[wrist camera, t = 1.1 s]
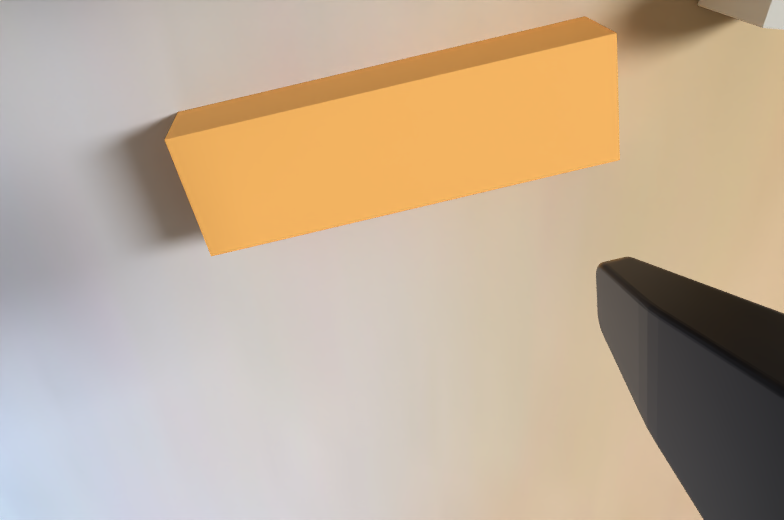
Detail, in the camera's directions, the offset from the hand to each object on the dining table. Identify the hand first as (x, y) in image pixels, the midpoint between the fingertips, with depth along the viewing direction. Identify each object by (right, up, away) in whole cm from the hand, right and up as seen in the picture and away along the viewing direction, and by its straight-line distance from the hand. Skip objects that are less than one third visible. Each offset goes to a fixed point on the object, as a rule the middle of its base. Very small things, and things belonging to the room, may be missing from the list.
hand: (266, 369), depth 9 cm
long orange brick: (+2, +6, +12) cm, 13 cm away
